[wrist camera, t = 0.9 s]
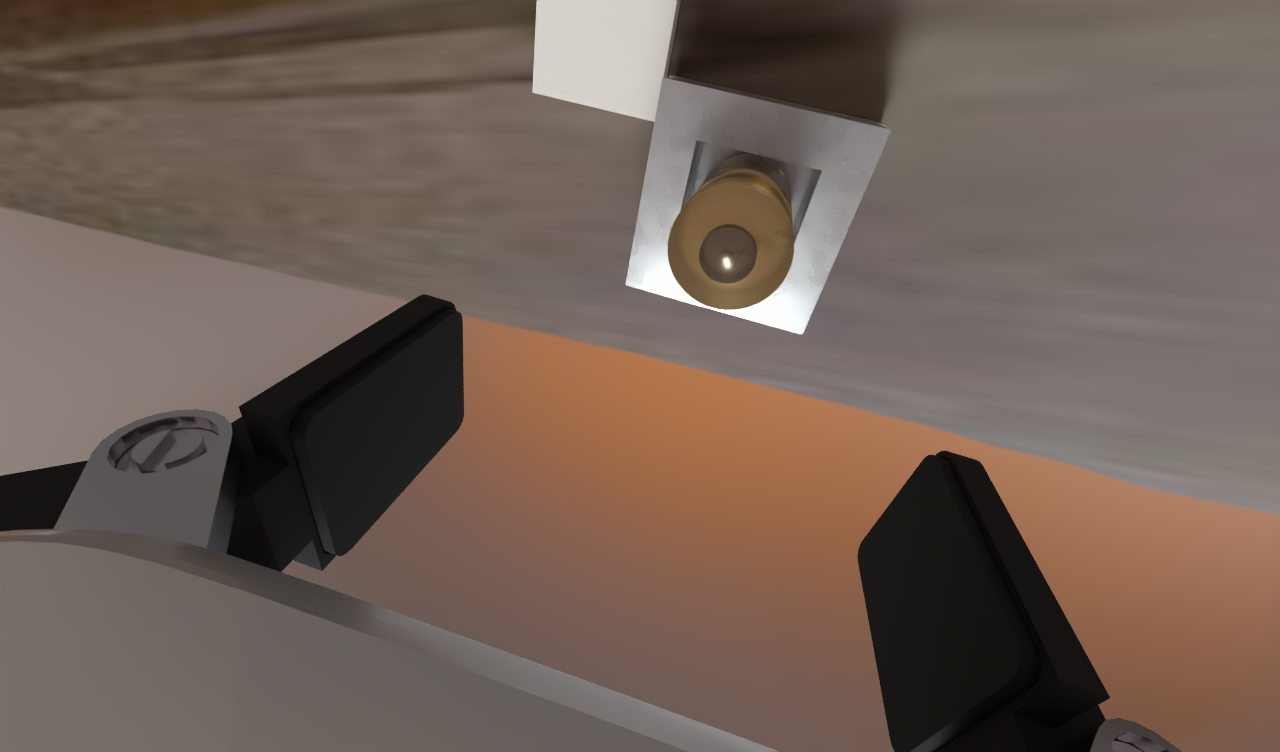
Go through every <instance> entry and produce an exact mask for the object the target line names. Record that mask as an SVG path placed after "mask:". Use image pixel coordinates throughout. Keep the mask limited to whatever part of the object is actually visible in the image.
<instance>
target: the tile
mask: <svg viewBox="0 0 1280 752" xmlns="http://www.w3.org/2000/svg"><path fill="white" fill-rule="evenodd" d="M680 3H681V0H537V6H536V28H535V50H534V72H533V93H537V94H541V95H545V96H549V97H553V98H557V99H562V100H566V101H570V102H574V103H578V104H582V105H587V106H591V107H595V108H599V109H603V110H607V111H612V112H616V113H620V114H624V115H628V116H632V117H637V118H641V119H645V120H649V121H653V122H655V117H656V111H657V105H658V100H659V94H660V89H661V83H662V77H667V75H668V69H669V64H670V58H671V53H672V47H673V42H674V36H675V31H676V25H677V20H678V14H679V9H680Z"/></svg>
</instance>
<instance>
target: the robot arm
mask: <svg viewBox="0 0 1280 752" xmlns="http://www.w3.org/2000/svg"><path fill="white" fill-rule="evenodd" d="M462 329H463V324H462V315H461V313H459V312H457V311H456V308H455V306H454V304H453V303H452V302H449V301H445V300H442V299H439V298H435V297H432V296H429V295H421V296H419V297H417V298H415V299H414V300H412V301H410V302H409V303H407V304H405V305H404V306H402V307H401V308H399V309H397V310H396V311H394V312H393V313H391V314H389V315H388V316H386V317H384V318H383V319H381V320H380V321H378V322H376V323H375V324H373V325H371V326H370V327H368V328H366V329H365V330H363V331H362V332H360V333H358V334H357V335H355V336H354V337H352V338H350V339H349V340H347V341H345V342H344V343H342V344H340V345H339V346H337V347H335V348H334V349H332V350H331V351H329V352H328V353H326V354H324V355H322V356H321V357H319V358H318V359H316V360H314V361H313V362H311V363H309V364H308V365H306V366H305V367H303V368H301V369H300V370H298V371H296V372H295V373H293V374H291V375H290V376H288V377H287V378H285V379H283V380H282V381H280V382H278V383H277V384H275V385H273V386H272V387H270V388H269V389H267V390H265V391H264V392H262V393H261V394H259V395H257V396H256V397H254V398H252V399H251V400H249V401H248V402H246V403H244V404H243V405H241V406H239V409H240V412H241V414H242V417H241V418H239V419H237V420H236V421H234V422H233V423H230V422H229V421H228V420H227V419H226V418H225V417H224V416H222V415H219V414H217V413H215V412H211V411H204V410H176V411H170V412H165V413H159V414H155V415H152V416H149V417H146V418H142V419H139V420H136V421H134V422H132V423H130V424H128V425H126V426H124V427H122V428H120V429H117V430H116V431H115V432H113V433H112V434H110V435H109V436H108V437H106V438H105V439H103V440H102V441H101V442H100V444H99V445H98V446H97V447H96V449H95V450H94V451H93V452H92V454H91V456H90V458H89V460H88V461H83V462H77V463H72V464H66V465H60V466H54V467H48V468H43V469H38V470H32V471H26V472H20V473H15V474H9V475H3V476H0V752H779V751H776V750H774V749H771V748H768V747H765V746H763V745H760V744H757V743H754V742H752V741H749V740H747V739H744V738H741V737H739V736H735V735H733V734H730V733H728V732H725V731H722V730H720V729H717V728H714V727H711V726H709V725H706V724H703V723H700V722H698V721H695V720H692V719H689V718H687V717H684V716H681V715H678V714H676V713H673V712H670V711H667V710H665V709H662V708H659V707H656V706H653V705H651V704H648V703H646V702H643V701H640V700H637V699H635V698H632V697H629V696H626V695H624V694H621V693H618V692H615V691H613V690H610V689H607V688H604V687H602V686H599V685H596V684H593V683H591V682H588V681H585V680H582V679H580V678H577V677H574V676H571V675H568V674H566V673H562V672H560V671H557V670H555V669H552V668H549V667H546V666H544V665H541V664H538V663H535V662H533V661H530V660H527V659H524V658H522V657H519V656H516V655H513V654H511V653H508V652H505V651H502V650H499V649H497V648H494V647H491V646H488V645H486V644H483V643H480V642H477V641H474V640H472V639H469V638H466V637H463V636H460V635H458V634H455V633H452V632H449V631H447V630H443V629H441V628H438V627H435V626H432V625H430V624H427V623H424V622H421V621H419V620H416V619H413V618H410V617H407V616H404V615H402V614H399V613H396V612H393V611H390V610H388V609H385V608H382V607H379V606H376V605H374V604H371V603H368V602H365V601H363V600H360V599H357V598H354V597H351V596H349V595H346V594H343V593H340V592H337V591H335V590H332V589H329V588H326V587H323V586H320V585H317V584H314V583H311V582H308V581H305V580H302V579H299V578H296V577H293V576H290V575H287V574H284V573H282V570H283V569H284V568H285V567H286V566H287V565H288V564H289V563H290V562H291V561H292V560H293V559H294V561H297V562H299V563H302V564H305V565H308V566H310V567H313V568H316V569H319V570H321V571H322V570H323V569H324V568H325V567H326V566H327V565H328V564H329V563H330V562H331V560H333V558H334V557H335V556H336V555H338V556H342V555H344V554H346V553H347V552H348V551H349V550H350V549H352V548H353V547H354V545H355V544H356V543H357V542H358V541H359V540H360V539H361V537H362V536H363V535H364V534H365V533H366V532H367V531H368V530H369V529H370V527H371V526H372V525H373V524H374V523H375V522H376V521H377V520H378V519H379V517H380V516H381V515H382V514H383V513H384V512H385V511H386V510H387V509H388V507H389V506H390V505H391V504H392V503H393V502H394V501H395V500H396V498H397V497H398V496H399V495H400V494H401V493H402V492H403V491H404V490H405V488H406V487H407V486H408V485H409V484H410V483H411V482H412V481H413V480H414V478H415V477H416V476H417V475H418V474H419V473H420V472H421V471H422V469H423V468H424V467H425V466H426V465H427V464H428V463H429V462H430V460H431V459H432V458H433V457H434V456H435V455H436V454H437V453H438V452H439V450H440V449H441V448H442V447H443V446H444V445H445V444H446V443H447V442H448V440H449V439H450V438H451V437H452V436H453V435H454V434H455V433H456V431H457V430H458V429H459V427H460V425H461V423H462V421H463V417H464V394H463V393H464V392H463V390H464V388H463V330H462ZM858 564H859V570H860V575H861V581H862V586H863V592H864V597H865V603H866V608H867V614H868V619H869V625H870V630H871V636H872V642H873V647H874V653H875V658H876V664H877V669H878V675H879V680H880V686H881V691H882V697H883V703H884V708H885V713H886V719H887V724H888V730H889V736H890V741H891V744H892V747H893V749H894V751H895V752H1181V751H1180V750H1179V749H1178V748H1177V747H1175V746H1174V745H1172V744H1171V743H1170V742H1168V741H1167V740H1165V739H1164V738H1163V737H1161V736H1160V735H1159V734H1157V733H1155V732H1154V731H1152V730H1150V729H1147V728H1146V727H1144V726H1142V725H1140V724H1138V723H1136V722H1132V721H1128V720H1124V719H1121V718H1115V719H1108V720H1106V719H1105V718H1104V716H1103V714H1102V712H1101V710H1100V708H1099V706H1098V704H1100V703H1102V702H1104V701H1105V700H1107V699H1109V698H1110V696H1109V695H1108V693H1107V691H1106V689H1105V688H1104V686H1103V684H1102V682H1101V680H1100V678H1099V677H1098V675H1097V673H1096V671H1095V669H1094V668H1093V666H1092V664H1091V662H1090V660H1089V658H1088V656H1087V655H1086V653H1085V651H1084V649H1083V647H1082V646H1081V644H1080V642H1079V640H1078V639H1077V636H1076V635H1075V633H1074V631H1073V629H1072V628H1071V625H1070V624H1069V622H1068V620H1067V618H1066V616H1065V615H1064V613H1063V611H1062V609H1061V607H1060V605H1059V604H1058V602H1057V600H1056V598H1055V596H1054V594H1053V593H1052V591H1051V589H1050V587H1049V586H1048V584H1047V582H1046V580H1045V578H1044V576H1043V575H1042V573H1041V571H1040V569H1039V567H1038V565H1037V564H1036V562H1035V560H1034V558H1033V556H1032V554H1031V553H1030V551H1029V549H1028V547H1027V545H1026V543H1025V542H1024V540H1023V538H1022V536H1021V534H1020V533H1019V531H1018V529H1017V527H1016V525H1015V523H1014V522H1013V520H1012V518H1011V516H1010V514H1009V513H1008V511H1007V509H1006V507H1005V505H1004V503H1003V502H1002V500H1001V498H1000V496H999V494H998V493H997V491H996V489H995V487H994V485H993V483H992V482H991V480H990V478H989V476H988V474H987V472H986V471H985V469H984V467H983V465H982V464H981V463H980V462H979V461H977V460H974V459H971V458H968V457H965V456H961V455H958V454H955V453H951V452H948V451H941V452H939V453H937V454H936V455H935V456H934V455H928V456H927V457H925V458H924V459H923V461H922V462H921V463H920V465H919V466H918V467H917V469H916V470H915V471H914V473H913V474H912V475H911V477H910V478H909V479H908V481H907V482H906V484H905V485H904V486H903V487H902V489H901V490H900V491H899V493H898V494H897V495H896V497H895V498H894V499H893V501H892V502H891V503H890V505H889V506H888V507H887V509H886V510H885V511H884V513H883V514H882V515H881V517H880V518H879V519H878V521H877V522H876V523H875V525H874V526H873V527H872V529H871V530H870V532H869V533H868V534H867V536H866V537H865V538H864V539H863V541H862V542H861V544H860V547H859V551H858Z"/></svg>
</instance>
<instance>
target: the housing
mask: <svg viewBox="0 0 1280 752" xmlns="http://www.w3.org/2000/svg"><path fill="white" fill-rule="evenodd" d="M886 126H887V125H885V124H883V123H881V122H877V121H872V120H868V119H864V118H859V117H855V116H850V115H846V114H842V113H837V112H833V111H829V110H824V109H820V108H815V107H811V106H807V105H802V104H798V103H793V102H789V101H785V100H780V99H776V98H771V97H767V96H763V95H758V94H754V93H750V92H745V91H741V90H736V89H732V88H728V87H723V86H719V85H714V84H710V83H706V82H701V81H697V80H692V79H688V78H684V77H679V76H669V77H662V83H661V89H660V94H659V100H658V105H657V111H656V117H655V122H654V128H653V134H652V139H651V145H650V150H649V156H648V162H647V167H646V173H645V179H644V184H643V190H642V195H641V201H640V207H639V212H638V218H637V224H636V229H635V235H634V240H633V246H632V252H631V257H630V263H629V269H628V274H627V280H626V285H627V286H631V287H634V288H638V289H641V290H645V291H648V292H652V293H655V294H659V295H663V296H666V297H670V298H673V299H677V300H680V301H684V302H687V303H691V304H695V305H698V306H702V307H705V308H709V309H712V310H716V311H719V312H723V313H727V314H730V315H734V316H737V317H741V318H744V319H748V320H751V321H755V322H759V323H762V324H766V325H769V326H773V327H776V328H780V329H783V330H787V331H791V332H794V333H798V334H801V335H803V332H804V330H805V328H806V325H807V323H808V321H809V318H810V316H811V314H812V312H813V309H814V307H815V305H816V302H817V300H818V298H819V295H820V293H821V291H822V289H823V286H824V284H825V282H826V279H827V277H828V275H829V273H830V270H831V268H832V266H833V263H834V261H835V259H836V256H837V254H838V252H839V250H840V247H841V245H842V243H843V240H844V238H845V236H846V233H847V231H848V229H849V227H850V224H851V222H852V220H853V217H854V215H855V213H856V210H857V208H858V206H859V204H860V201H861V199H862V197H863V194H864V192H865V190H866V188H867V185H868V183H869V181H870V178H871V176H872V174H873V171H874V169H875V167H876V165H877V162H878V160H879V158H880V155H881V153H882V151H883V148H884V146H885V144H886V142H887V139H888V137H889V135H890V132H891V129H889V128H887V127H886ZM741 154H755V155H760V156H763V157H766V158H768V159H770V160H771V161H773V162H774V163H775V164H777V165H778V166H779V167H780V168H781V170H782V171H783V172H784V174H785V176H786V177H787V180H788V182H789V186H790V190H791V202H792V219H793V235H794V255H793V261H792V264H791V267H790V270H789V272H788V274H787V276H786V278H785V279H784V281H783V283H782V284H781V285H780V286H779V288H778V289H777V290H776V291H775V292H774V293H773V294H772V295H770V296H769V297H768V298H766V299H765V300H763V301H761V302H760V303H758V304H755V305H753V306H750V307H747V308H743V309H737V310H722V309H716V308H712V307H709V306H706V305H704V304H701V303H699V302H698V301H696V300H695V299H693V298H692V297H690V296H689V295H688V294H687V293H686V292H685V291H684V290H683V289H682V288H681V287H680V285H679V284H678V283H677V281H676V279H675V277H674V276H673V273H672V271H671V268H670V265H669V260H668V239H669V234H670V231H671V228H672V226H673V223H674V221H675V219H676V218H677V216H678V214H679V213H680V212H681V210H682V209H683V208H684V207H685V205H686V204H687V203H688V201H689V200H690V199H691V198H692V196H693V195H694V194H695V192H696V191H697V190H698V189H699V187H700V186H701V185H702V183H703V182H704V181H705V180H706V178H707V177H708V176H709V174H710V173H711V172H712V171H713V170H714V169H715V168H716V167H717V166H718V165H719V164H720V163H722V162H723V161H725V160H727V159H728V158H731V157H733V156H737V155H741Z"/></svg>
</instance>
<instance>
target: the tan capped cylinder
mask: <svg viewBox="0 0 1280 752" xmlns="http://www.w3.org/2000/svg"><path fill="white" fill-rule="evenodd" d="M793 255H794V235H793V219H792V202H791V190H790V186H789V182H788V180H787V177H786V176H785V174H784V172H783V171H782V170H781V168H780V167H779V166H778V165H777V164H775V163H774V162H773V161H771V160H770V159H768V158H766V157H763V156H760V155H755V154H741V155H737V156H733V157H731V158H728V159H727V160H725V161H723V162H722V163H720V164H719V165H718V166H717V167H716V168H715V169H714V170H713V171H712V172H711V173H710V174H709V176H708V177H707V178H706V180H705V181H704V182H703V183H702V185H701V186H700V187H699V189H698V190H697V191H696V192H695V194H694V195H693V196H692V198H691V199H690V200H689V201H688V203H687V204H686V205H685V207H684V208H683V209H682V210H681V212H680V213H679V214H678V216H677V218H676V219H675V221H674V223H673V226H672V228H671V231H670V234H669V239H668V260H669V265H670V268H671V271H672V273H673V276H674V277H675V279H676V281H677V283H678V284H679V285H680V287H681V288H682V289H683V290H684V291H685V292H686V293H687V294H688V295H689V296H690V297H692V298H693V299H695V300H696V301H698V302H699V303H701V304H704V305H706V306H709V307H712V308H716V309H722V310H737V309H743V308H747V307H750V306H753V305H755V304H758V303H760V302H761V301H763V300H765V299H766V298H768V297H769V296H770V295H772V294H773V293H774V292H775V291H776V290H777V289H778V288H779V286H780V285H781V284H782V283H783V281H784V279H785V278H786V276H787V274H788V272H789V270H790V267H791V264H792V261H793Z"/></svg>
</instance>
